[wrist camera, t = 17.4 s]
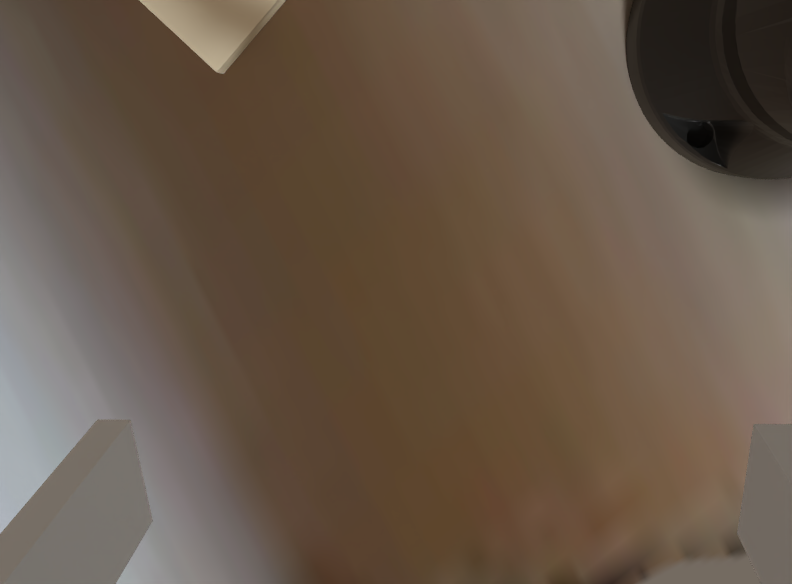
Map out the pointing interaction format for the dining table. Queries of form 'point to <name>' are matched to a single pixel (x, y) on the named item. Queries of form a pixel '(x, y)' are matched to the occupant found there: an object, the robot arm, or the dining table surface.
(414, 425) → the dining table surface
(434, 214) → the dining table surface
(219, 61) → the pine board
